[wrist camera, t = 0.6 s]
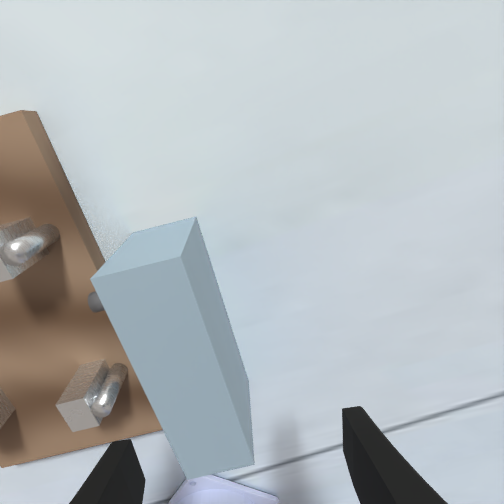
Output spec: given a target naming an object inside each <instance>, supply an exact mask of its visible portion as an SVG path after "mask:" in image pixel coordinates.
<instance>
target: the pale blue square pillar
mask: <svg viewBox="0 0 504 504" xmlns="http://www.w3.org/2000/svg"><path fill="white" fill-rule="evenodd" d="M90 280H91V282H92V284H93V286H94V288H95V290H96V291H95V292H91V293H90V294H89V295H88V305H89V307H90V309H91V311H93V312H95V313H96V312H100V311H104V310H105V311H106V313H107V315H108V317H109V319H110V321H111V323H112V325H113V327H114V330H115V332H116V334H117V336H118V338H119V340H120V342H121V344H122V346H123V348H124V350H125V352H126V354H127V356H128V359H129V361H130V363H131V365H132V367H133V369H134V371H135V373H136V375H137V377H138V379H139V381H140V383H141V385H142V387H143V390H144V392H145V394H146V396H147V398H148V400H149V402H150V404H151V406H152V408H153V410H154V412H155V414H156V416H157V418H158V421H159V423H160V425H161V427H162V429H163V431H164V433H165V435H166V437H167V439H168V441H169V443H170V445H171V447H172V450H173V452H174V454H175V456H176V458H177V460H178V462H179V464H180V466H181V468H182V470H183V472H184V474H185V476H186V478H187V480H189V479H194V478H198V477H202V476H207V475H211V474H216V473H220V472H224V471H229V470H233V469H237V468H242V467H246V466H250V465H254V451H253V437H252V422H251V408H250V394H249V381H248V378H247V374H246V371H245V368H244V365H243V362H242V359H241V356H240V352H239V349H238V346H237V343H236V340H235V337H234V334H233V331H232V327H231V324H230V321H229V318H228V315H227V312H226V309H225V305H224V302H223V299H222V296H221V293H220V290H219V287H218V283H217V280H216V277H215V274H214V271H213V268H212V265H211V262H210V258H209V255H208V252H207V249H206V246H205V243H204V240H203V236H202V233H201V230H200V227H199V224H198V221H197V218H196V217H192V218H188V219H184V220H180V221H177V222H173V223H169V224H165V225H161V226H157V227H153V228H149V229H145V230H141V231H137V232H133V233H132V234H131V236H130V237H129V238H128V239H127V240H126V241H125V242H124V243H123V244H122V245H121V246H120V247H119V248H118V249H117V251H116V252H115V253H114V254H113V255H112V256H111V257H110V258H109V259H108V260H107V261H106V262H105V263H104V265H103V266H102V267H101V268H100V269H99V270H98V271H97V272H96V273H95V274H94V275H93V276H92V277H91V278H90Z"/></svg>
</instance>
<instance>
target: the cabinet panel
mask: <svg viewBox="0 0 504 504" xmlns="http://www.w3.org/2000/svg"><path fill="white" fill-rule="evenodd" d="M28 217H31V219H32V221H33V223H34V225H35V227H36V228H37V227H39V226H41V225H43V224H52V225H54V226H56V227H57V228H58V230H59V232H60V238H59V239H58V240H57V241H56V242H54V243H53V244H51V245H50V246H48V247H47V250H48V251H49V254H48V255H46V256H45V257H43V258H42V259H41V260H39V261H38V262H36V263H35V264H33V265H32V266H31V267H29V268H28V269H26V270H25V271H23V272H22V273H20V274H19V275H18V276H16V277H15V278H13V279H10V280H6V281H3V282H0V388H1V389H2V390H3V392H4V393H5V395H6V396H7V397H8V399H9V400H10V402H11V403H12V405H13V406H14V407H15V410H14V411H13V413H12V414H11V415H10V417H9V418H8V419H7V421H6V422H5V423H4V425H3V426H2V427H1V428H0V466H1V467H2V468H4V467H8V466H12V465H17V464H21V463H25V462H29V461H33V460H38V459H42V458H46V457H50V456H54V455H59V454H63V453H67V452H71V451H75V450H80V449H84V448H88V447H92V446H96V445H101V444H105V443H109V442H113V441H117V440H122V439H126V438H130V437H134V436H138V435H143V434H147V433H151V432H155V431H159V430H163V429H162V427H161V425H160V423H159V421H158V418H157V416H156V414H155V412H154V410H153V408H152V406H151V404H150V402H149V400H148V398H147V396H146V394H145V392H144V390H143V387H142V385H141V383H140V381H139V379H138V377H137V375H136V373H135V371H134V369H133V367H132V365H131V363H130V361H129V359H128V356H127V354H126V352H125V350H124V348H123V346H122V344H121V342H120V340H119V338H118V336H117V334H116V332H115V330H114V327H113V325H112V323H111V321H110V319H109V317H108V315H107V313H106V311H105V310H104V311H100V312H96V313H95V312H93V311H91V309H90V307H89V305H88V295H89V294H90V293H91V292H95V291H96V290H95V288H94V286H93V284H92V282H91V280H90V278H91V277H92V276H93V275H94V274H95V273H96V272H97V271H98V270H99V269H100V268H101V267H102V266H103V265H104V263H105V260H104V258H103V256H102V254H101V252H100V249H99V247H98V245H97V243H96V241H95V238H94V236H93V234H92V232H91V230H90V228H89V225H88V223H87V221H86V219H85V217H84V214H83V212H82V210H81V208H80V206H79V204H78V201H77V199H76V197H75V195H74V193H73V190H72V188H71V186H70V184H69V182H68V180H67V177H66V175H65V173H64V171H63V169H62V166H61V164H60V162H59V160H58V158H57V156H56V153H55V151H54V149H53V147H52V145H51V142H50V140H49V138H48V136H47V134H46V132H45V129H44V127H43V125H42V123H41V121H40V118H39V116H38V114H37V112H36V111H24V110H20V111H16V112H13V113H9V114H5V115H2V116H0V225H2V224H5V223H9V222H13V221H17V220H21V219H25V218H28ZM102 359H105V360H106V362H107V364H108V366H109V368H111V366H112V365H113V364H115V363H122V364H124V365H125V366H126V367H127V368H128V372H127V374H126V377H125V379H124V381H123V384H122V386H121V388H120V391H119V393H118V396H117V398H116V400H115V403H114V405H113V407H112V410H111V412H110V414H109V415H108V416H106V417H103V419H102V421H101V423H100V426H97V427H92V428H88V429H84V430H80V431H76V432H72V430H71V429H70V427H69V426H68V424H67V423H66V421H65V420H64V418H63V416H62V415H61V413H60V412H59V410H58V409H57V407H56V403H57V401H58V400H59V398H60V397H61V395H62V394H63V392H64V390H65V389H66V387H67V386H68V384H69V382H70V381H71V379H72V378H73V376H74V375H75V373H76V371H77V370H78V368H79V367H80V365H81V364H85V363H89V362H93V361H98V360H102Z"/></svg>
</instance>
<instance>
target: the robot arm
mask: <svg viewBox="0 0 504 504" xmlns="http://www.w3.org/2000/svg"><path fill="white" fill-rule="evenodd" d="M342 421H343V452H344V455H345V459H346V462H347V466H348V469H349V473H350V476H351V479H352V482H353V486H354V488H355V491H356V493H357V496H358V499H359V501H360V504H448V503H447V502H446V501H444V500H443V499H442V498H441V497H440V496H439V495H438V493H437V492H436V491H435V490H434V489H433V488H432V487H431V486H430V485H429V484H428V483H427V482H426V481H425V480H424V479H423V478H422V477H421V476H420V475H419V474H418V473H417V472H416V471H415V470H414V468H413V467H412V466H411V465H410V464H409V463H408V462H407V461H406V460H405V459H404V457H403V456H402V455H401V454H400V453H399V452H398V451H397V450H396V448H395V447H394V446H393V445H392V444H391V443H390V441H389V440H388V439H387V438H386V437H385V435H384V434H383V433H382V432H381V431H380V429H379V428H378V427H377V426H376V424H375V423H374V422H373V421H372V419H371V418H370V417H369V416H368V414H367V413H366V412H365V410H364V409H363V408H362V407H361V406H357V407H350V408H343V409H342ZM144 487H145V477H144V474H143V472H142V469H141V466H140V463H139V461H138V458H137V455H136V452H135V450H134V447H133V444H132V441H131V439H128V440H121V441H114V442H112V443H111V444H110V446H109V447H108V449H107V450H106V452H105V453H104V454H103V456H102V457H101V459H100V460H99V462H98V463H97V465H96V466H95V468H94V469H93V471H92V472H91V474H90V475H89V476H88V478H87V479H86V481H85V482H84V484H83V485H82V487H81V488H80V489H79V491H78V492H77V494H76V495H75V496H74V498H73V499H72V501H71V502H70V503H69V504H142V501H143V494H144ZM168 504H279V499H278V497H276V496H273V495H270V494H267V493H264V492H261V491H258V490H255V489H252V488H249V487H246V486H243V485H240V484H238V483H235V482H232V481H229V480H226V479H223V478H220V477H217V476H214V475H207V476H202V477H198V478H194V479H189V480H187V478H186V480H185V481H184V482H183V484H182V485H181V486H180V488H179V489H178V490H177V492H176V493H175V494H174V496H173V497H172V498H171V500H170V501H169V502H168Z"/></svg>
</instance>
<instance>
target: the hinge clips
mask: <svg viewBox="0 0 504 504" xmlns="http://www.w3.org/2000/svg"><path fill="white" fill-rule="evenodd" d="M59 238H60V232H59V230H58V228H57V227H56V226H54V225H52V224H43V225H41V226H39V227H37V228H36V227H35V225H34V223H33V221H32V219H31V217H28V218H25V219H21V220H17V221H13V222H9V223H5V224H2V225H0V282H3V281H6V280H10V279H13V278H15V277H16V276H18V275H19V274H20V273H22V272H23V271H25V270H26V269H28V268H29V267H31V266H32V265H33V264H35V263H36V262H38V261H39V260H41V259H42V258H43V257H45V256H46V255H48V254H49V251H48V250H47V247H48V246H50V245H51V244H53V243H54V242H56V241H57V240H58V239H59ZM127 372H128V368H127V367H126V366H125V365H124V364H122V363H115V364H113V365H112V366H111V368H109V366H108V364H107V362H106V360H105V359H102V360H98V361H93V362H89V363H85V364H81V365H80V367H79V368H78V370H77V371H76V373H75V375H74V376H73V378H72V379H71V381H70V382H69V384H68V386H67V387H66V389H65V390H64V392H63V394H62V395H61V397H60V398H59V400H58V401H57V403H56V407H57V409H58V410H59V412H60V413H61V415H62V416H63V418H64V420H65V421H66V423H67V424H68V426H69V427H70V429H71V430H72V432H76V431H80V430H84V429H88V428H92V427H97V426H100V423H101V421H102V419H103V417H106V416H108V415H109V414H110V412H111V410H112V407H113V405H114V403H115V400H116V398H117V396H118V393H119V391H120V388H121V386H122V384H123V381H124V379H125V377H126V374H127ZM14 410H15V407H14V406H13V405H12V403H11V402H10V400H9V399H8V397H7V396H6V395H5V393H4V392H3V390H2V389H1V388H0V428H1V427H2V426H3V425H4V423H5V422H6V421H7V419H8V418H9V417H10V415H11V414H12V413H13V411H14Z"/></svg>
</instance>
